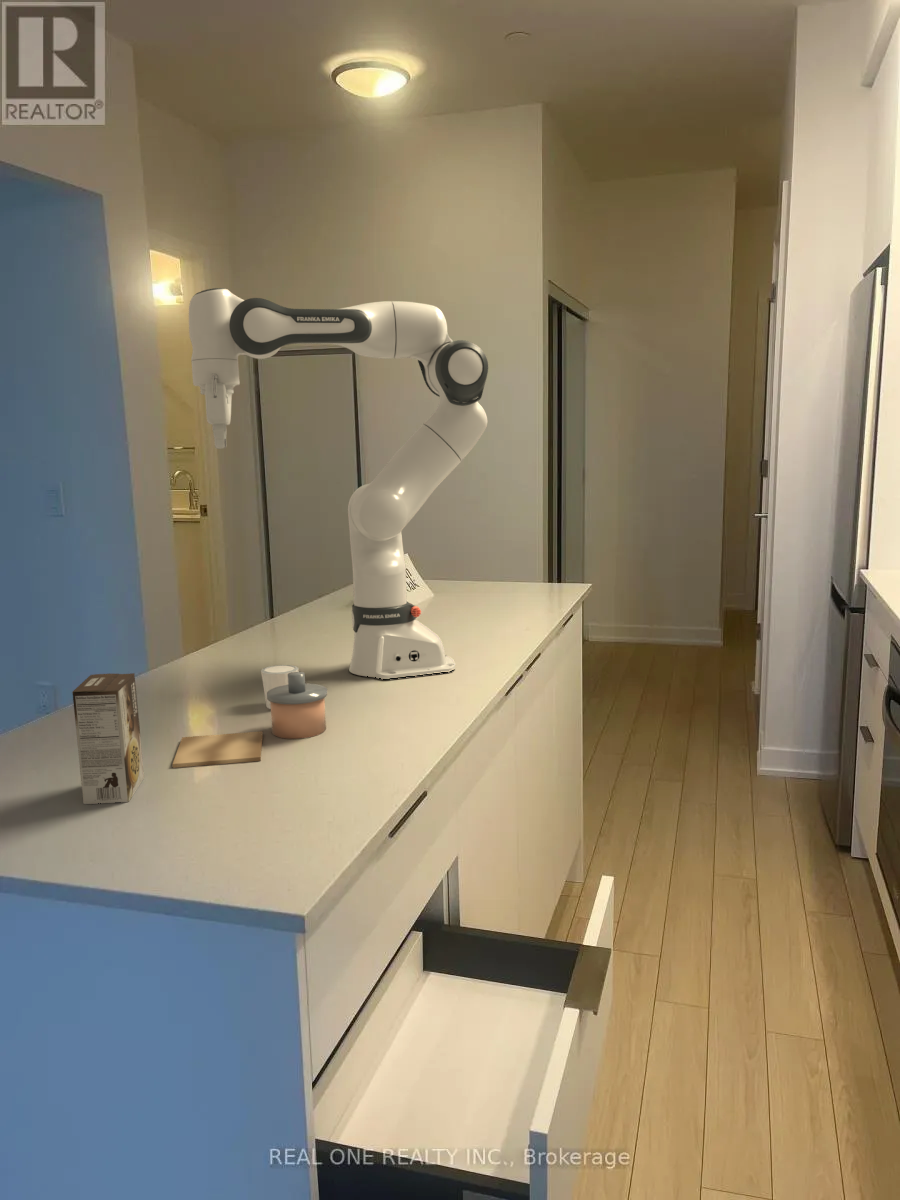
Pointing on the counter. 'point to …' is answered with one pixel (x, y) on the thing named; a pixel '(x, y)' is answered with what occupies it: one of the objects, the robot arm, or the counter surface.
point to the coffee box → (108, 738)
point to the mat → (219, 749)
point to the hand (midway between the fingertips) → (221, 448)
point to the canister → (298, 719)
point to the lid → (296, 691)
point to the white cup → (275, 677)
